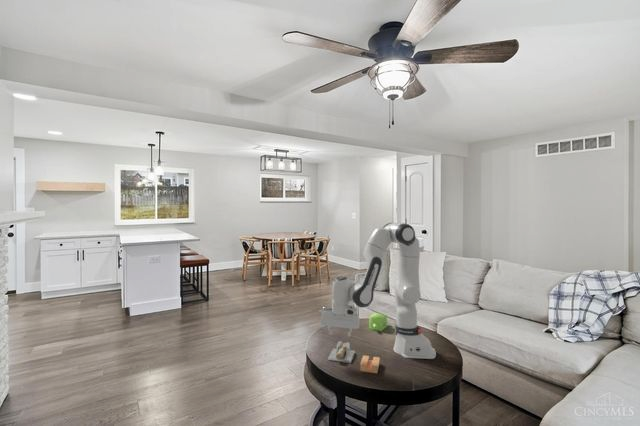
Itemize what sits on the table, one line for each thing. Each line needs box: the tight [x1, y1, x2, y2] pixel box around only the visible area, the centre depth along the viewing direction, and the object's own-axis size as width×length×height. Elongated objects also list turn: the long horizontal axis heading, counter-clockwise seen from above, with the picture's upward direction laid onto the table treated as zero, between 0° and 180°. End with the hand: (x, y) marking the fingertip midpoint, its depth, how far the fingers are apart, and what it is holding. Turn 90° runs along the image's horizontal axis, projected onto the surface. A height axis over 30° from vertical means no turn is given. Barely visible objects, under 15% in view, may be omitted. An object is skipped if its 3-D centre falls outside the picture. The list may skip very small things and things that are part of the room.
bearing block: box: [327, 340, 356, 364], centre depth 172 cm, size 12×12×6 cm
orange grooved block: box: [359, 354, 381, 374], centre depth 160 cm, size 8×10×4 cm
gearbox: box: [368, 312, 388, 332], centre depth 213 cm, size 18×10×10 cm, turn 149°
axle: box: [336, 342, 346, 360], centre depth 172 cm, size 14×3×3 cm, turn 165°
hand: (339, 335), depth 168 cm, fingers open, 8 cm apart
